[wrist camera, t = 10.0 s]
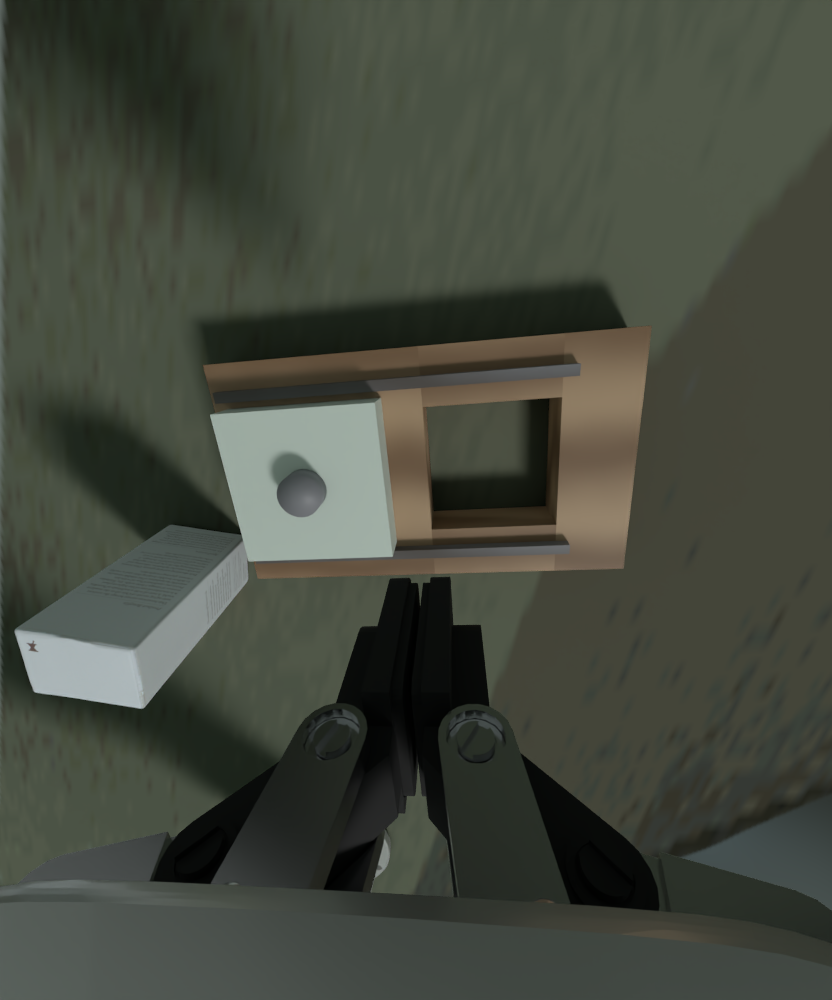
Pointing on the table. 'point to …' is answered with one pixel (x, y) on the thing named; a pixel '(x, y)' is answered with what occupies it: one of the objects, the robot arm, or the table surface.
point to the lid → (309, 479)
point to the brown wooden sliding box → (466, 380)
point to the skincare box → (134, 618)
